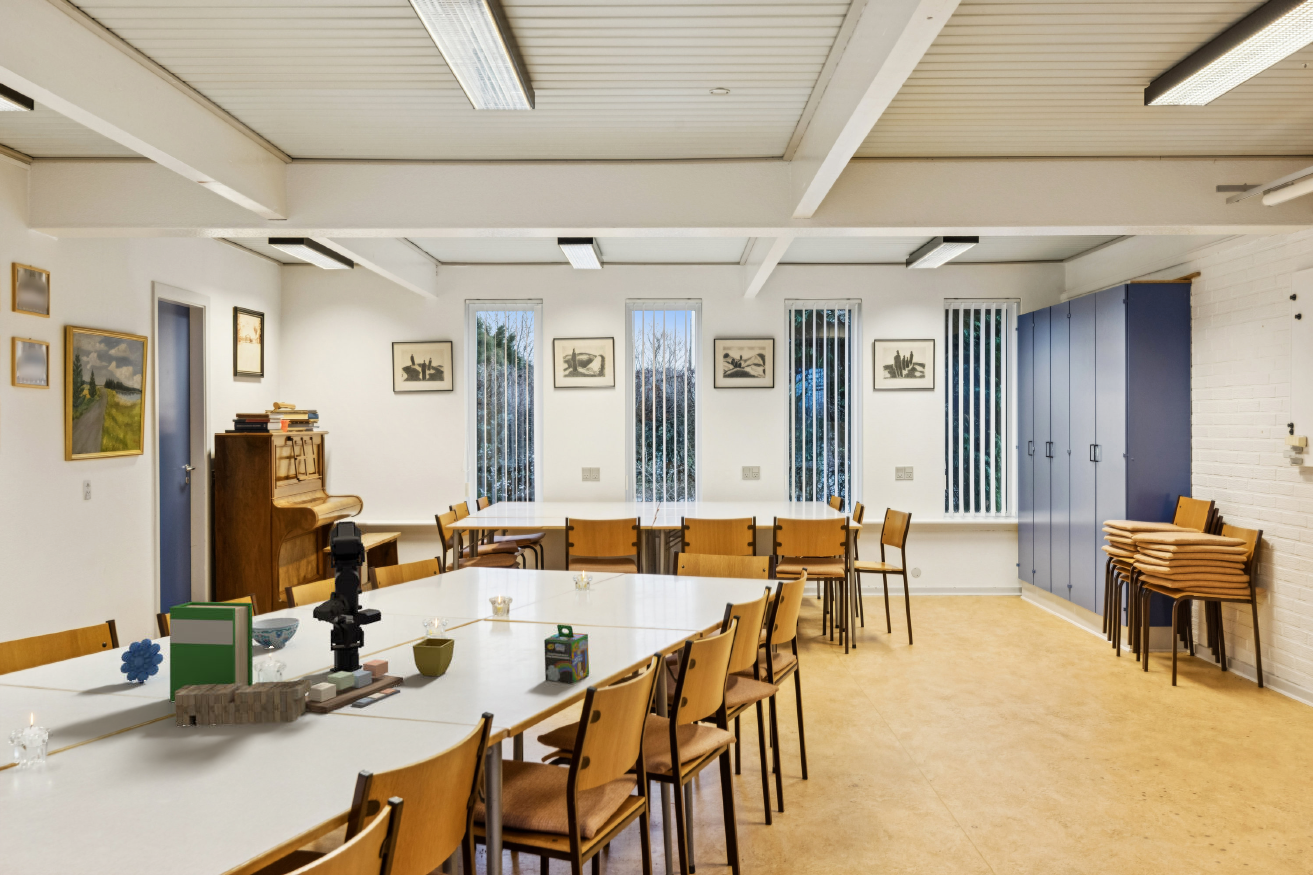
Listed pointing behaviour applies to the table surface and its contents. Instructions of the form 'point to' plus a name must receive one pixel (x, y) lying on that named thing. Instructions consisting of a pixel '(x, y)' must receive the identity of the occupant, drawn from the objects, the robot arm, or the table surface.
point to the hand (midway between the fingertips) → (347, 646)
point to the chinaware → (274, 631)
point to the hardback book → (210, 644)
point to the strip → (375, 697)
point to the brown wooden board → (353, 694)
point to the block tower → (241, 703)
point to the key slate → (362, 678)
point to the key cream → (322, 692)
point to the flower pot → (433, 656)
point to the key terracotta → (376, 667)
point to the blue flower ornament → (141, 660)
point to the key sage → (341, 679)
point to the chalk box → (566, 656)
